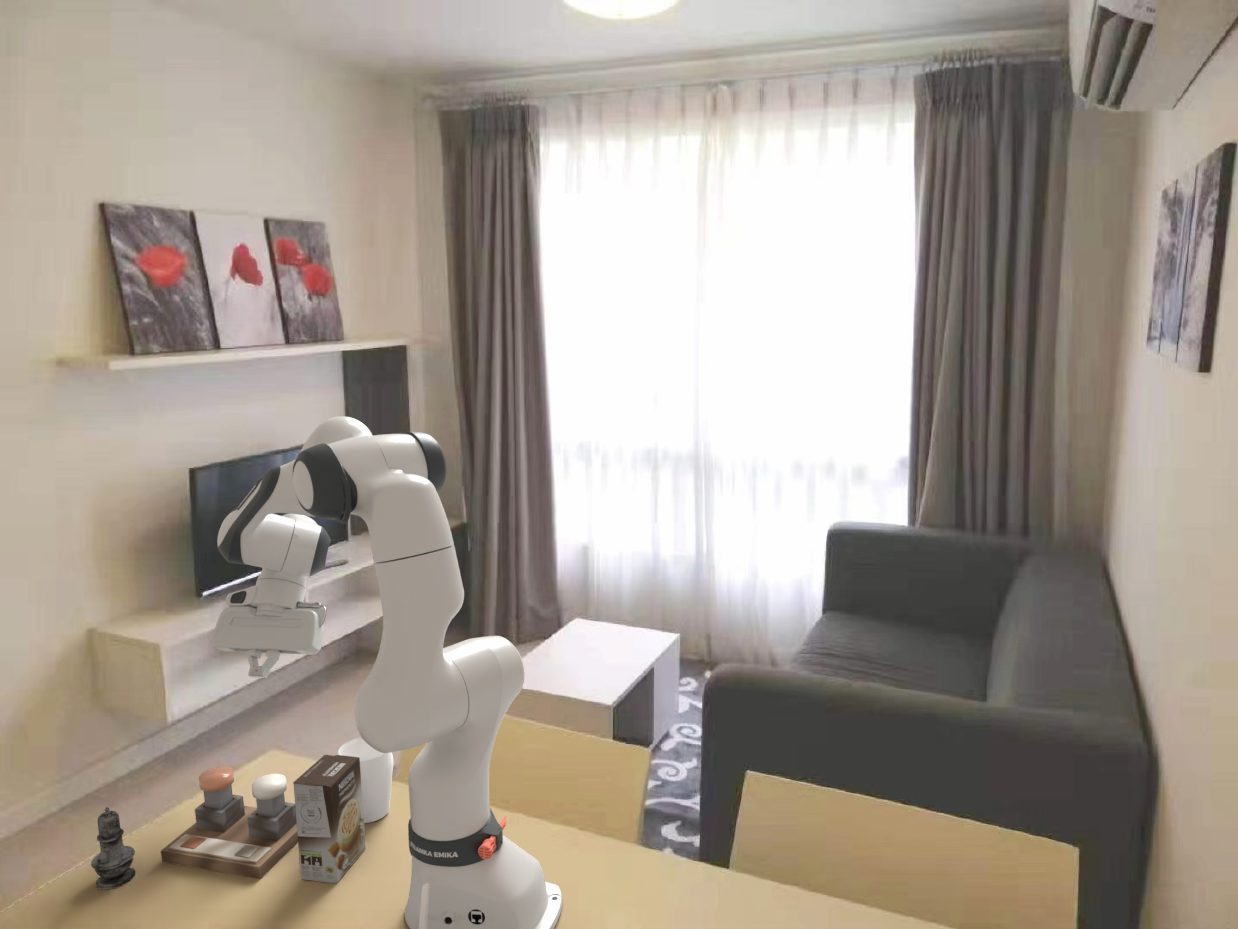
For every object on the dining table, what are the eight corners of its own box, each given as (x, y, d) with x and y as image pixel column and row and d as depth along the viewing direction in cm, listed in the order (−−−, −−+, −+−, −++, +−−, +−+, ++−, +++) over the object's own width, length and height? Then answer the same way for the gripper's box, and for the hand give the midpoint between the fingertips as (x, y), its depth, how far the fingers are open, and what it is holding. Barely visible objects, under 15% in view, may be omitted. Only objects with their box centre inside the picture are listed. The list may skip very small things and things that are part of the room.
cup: (381, 792, 158) (376, 730, 156) (406, 812, 151) (401, 748, 149) (333, 812, 152) (328, 748, 150) (357, 834, 145) (352, 767, 143)
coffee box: (338, 885, 133) (330, 787, 130) (299, 880, 134) (291, 783, 131) (367, 848, 141) (360, 756, 139) (331, 844, 143) (323, 753, 140)
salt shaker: (118, 893, 132) (108, 820, 129) (84, 888, 133) (74, 816, 131) (146, 868, 137) (137, 798, 135) (113, 864, 138) (104, 794, 136)
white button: (295, 804, 145) (292, 775, 144) (275, 822, 140) (272, 792, 139) (267, 800, 146) (265, 772, 145) (247, 818, 141) (244, 788, 140)
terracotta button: (243, 797, 147) (240, 768, 146) (222, 814, 142) (218, 785, 141) (216, 793, 148) (213, 765, 148) (194, 810, 143) (191, 781, 143)
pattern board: (313, 826, 148) (311, 797, 147) (260, 879, 134) (257, 846, 133) (222, 813, 152) (219, 783, 151) (161, 862, 139) (158, 830, 138)
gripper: (337, 608, 161) (320, 683, 155) (238, 605, 165) (217, 678, 160) (320, 597, 156) (302, 675, 150) (218, 594, 160) (196, 670, 154)
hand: (257, 677), depth 155 cm, fingers closed
